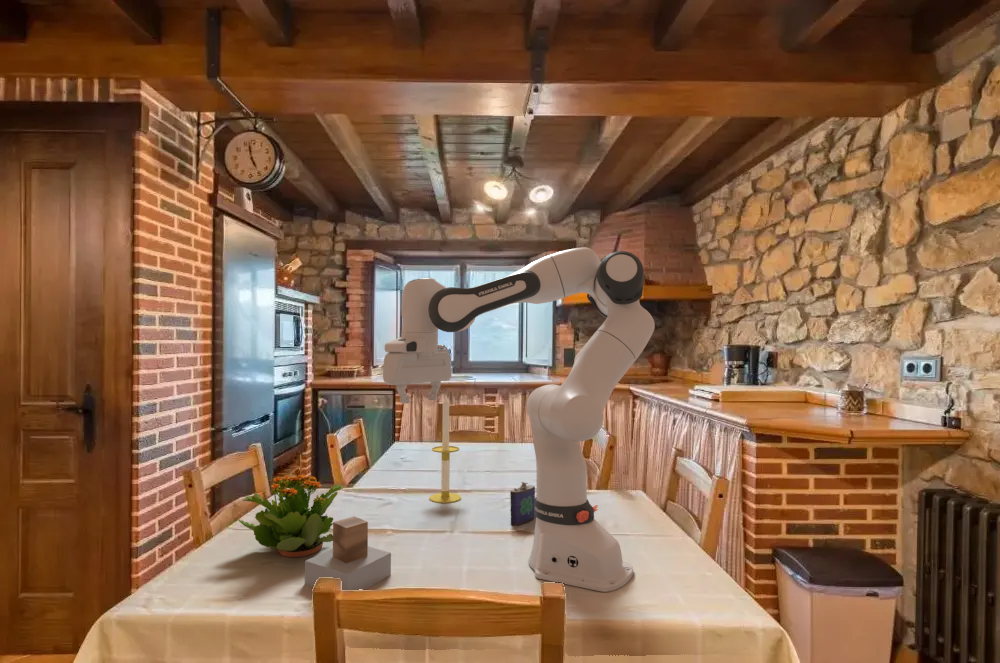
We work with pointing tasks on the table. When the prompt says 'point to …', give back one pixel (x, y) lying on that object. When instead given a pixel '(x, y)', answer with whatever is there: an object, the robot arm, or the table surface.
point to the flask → (522, 504)
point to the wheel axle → (445, 461)
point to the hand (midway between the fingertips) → (419, 401)
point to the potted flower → (293, 517)
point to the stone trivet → (350, 569)
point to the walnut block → (350, 539)
